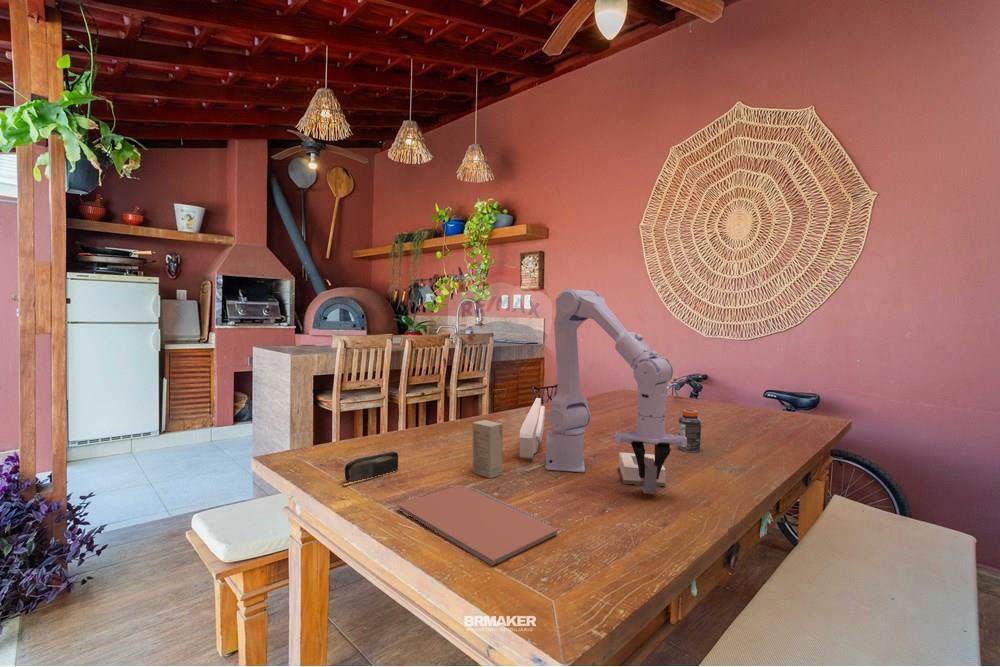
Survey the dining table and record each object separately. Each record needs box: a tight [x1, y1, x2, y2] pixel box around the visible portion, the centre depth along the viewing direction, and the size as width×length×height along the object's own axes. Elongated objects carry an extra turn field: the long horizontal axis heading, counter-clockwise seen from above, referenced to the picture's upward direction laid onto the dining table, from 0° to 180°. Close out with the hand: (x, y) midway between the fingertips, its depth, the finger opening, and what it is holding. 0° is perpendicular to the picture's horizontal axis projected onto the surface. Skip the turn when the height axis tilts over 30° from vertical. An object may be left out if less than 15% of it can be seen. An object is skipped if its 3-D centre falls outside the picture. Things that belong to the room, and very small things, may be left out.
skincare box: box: [472, 419, 504, 479], centre depth 115 cm, size 6×4×12 cm
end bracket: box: [640, 458, 657, 495], centre depth 104 cm, size 2×5×6 cm, turn 172°
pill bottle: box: [677, 408, 702, 453], centre depth 138 cm, size 6×6×11 cm
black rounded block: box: [344, 451, 399, 483], centre depth 111 cm, size 5×3×15 cm
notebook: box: [396, 484, 560, 566], centre depth 90 cm, size 27×17×2 cm, turn 44°
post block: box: [618, 452, 667, 487], centre depth 115 cm, size 9×11×4 cm
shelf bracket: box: [519, 397, 546, 459], centre depth 136 cm, size 6×25×13 cm, turn 168°
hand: (648, 477), depth 104 cm, fingers closed on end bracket, 2 cm apart
